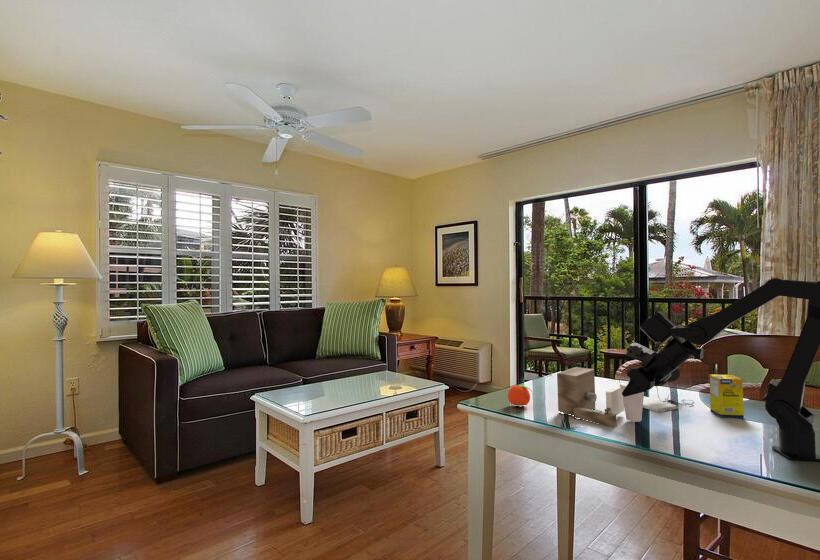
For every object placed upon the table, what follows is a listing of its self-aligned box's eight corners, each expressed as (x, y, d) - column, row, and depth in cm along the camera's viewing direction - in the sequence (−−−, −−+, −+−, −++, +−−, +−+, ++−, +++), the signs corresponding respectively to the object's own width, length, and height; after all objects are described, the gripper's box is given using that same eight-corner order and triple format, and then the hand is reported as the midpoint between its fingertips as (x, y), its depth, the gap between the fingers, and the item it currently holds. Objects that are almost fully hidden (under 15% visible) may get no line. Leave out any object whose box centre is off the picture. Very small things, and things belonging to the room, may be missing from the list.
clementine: (536, 405, 137) (535, 383, 137) (530, 411, 131) (529, 388, 131) (511, 402, 141) (511, 381, 141) (505, 408, 135) (504, 385, 135)
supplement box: (744, 418, 119) (743, 378, 119) (720, 417, 121) (719, 378, 121) (733, 411, 125) (731, 374, 125) (710, 411, 126) (708, 374, 126)
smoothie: (623, 422, 116) (621, 370, 117) (618, 415, 123) (617, 366, 123) (649, 423, 115) (647, 371, 115) (643, 416, 121) (642, 366, 121)
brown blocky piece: (631, 415, 124) (630, 373, 125) (613, 427, 115) (612, 382, 115) (576, 404, 136) (575, 367, 136) (555, 414, 127) (554, 374, 127)
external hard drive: (643, 400, 141) (678, 410, 130) (623, 403, 139) (657, 414, 127) (643, 395, 141) (677, 405, 130) (623, 398, 139) (657, 408, 127)
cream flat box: (624, 410, 124) (623, 386, 125) (608, 419, 117) (607, 394, 117) (618, 409, 126) (618, 385, 126) (603, 418, 118) (602, 393, 118)
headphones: (681, 411, 127) (679, 343, 127) (642, 403, 136) (640, 340, 136) (702, 402, 135) (700, 338, 136) (664, 395, 145) (662, 335, 145)
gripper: (656, 330, 123) (618, 364, 130) (633, 337, 110) (591, 375, 117) (690, 360, 117) (647, 395, 125) (669, 372, 104) (623, 409, 112)
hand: (627, 392), depth 120 cm, fingers closed on smoothie, 6 cm apart
